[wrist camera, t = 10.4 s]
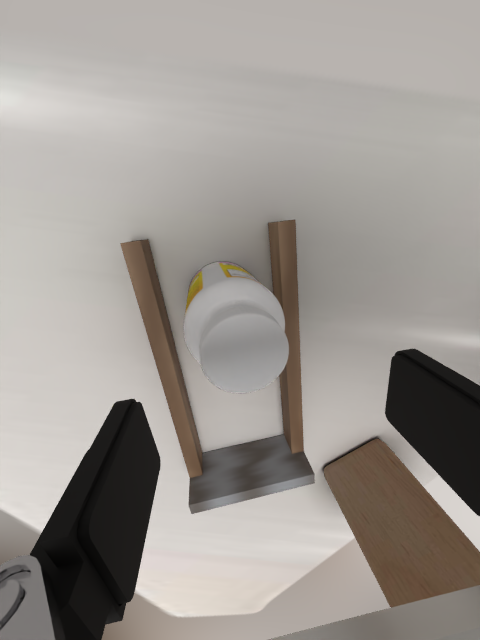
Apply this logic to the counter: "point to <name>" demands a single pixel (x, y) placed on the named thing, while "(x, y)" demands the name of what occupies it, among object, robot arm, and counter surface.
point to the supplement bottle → (235, 328)
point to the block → (401, 527)
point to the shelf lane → (204, 468)
